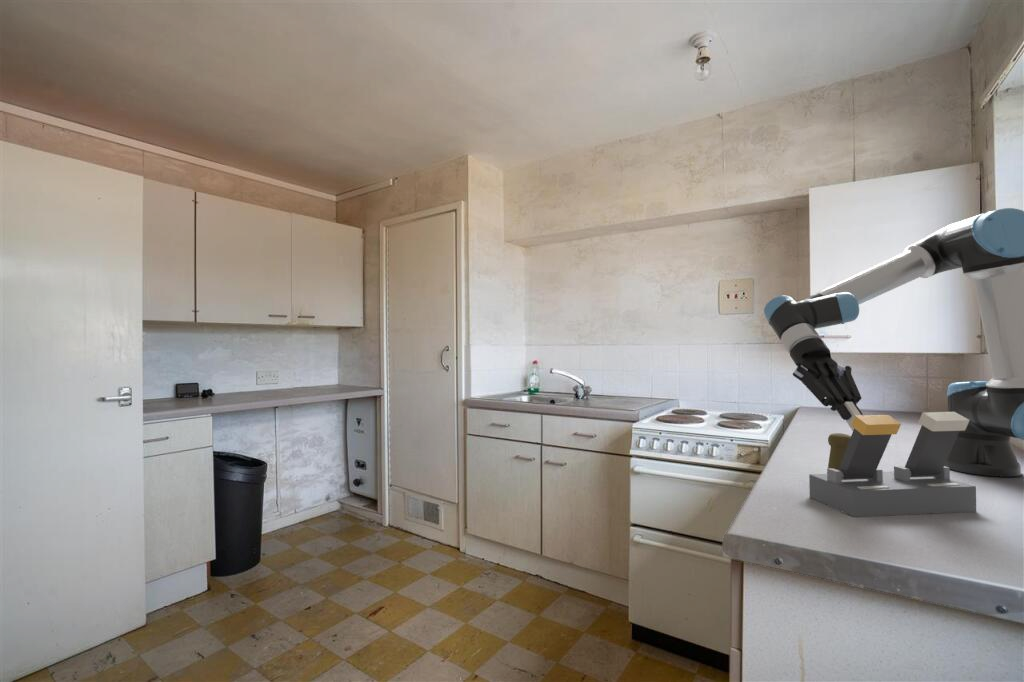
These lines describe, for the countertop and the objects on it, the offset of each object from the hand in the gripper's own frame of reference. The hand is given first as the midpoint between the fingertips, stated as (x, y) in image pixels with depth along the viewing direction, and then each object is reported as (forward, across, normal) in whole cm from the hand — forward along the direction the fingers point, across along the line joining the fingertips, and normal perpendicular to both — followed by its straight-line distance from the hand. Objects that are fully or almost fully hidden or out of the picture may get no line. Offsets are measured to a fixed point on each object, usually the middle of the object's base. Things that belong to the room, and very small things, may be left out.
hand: (862, 431), depth 96 cm
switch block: (+9, -8, -13) cm, 18 cm away
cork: (-4, -13, -27) cm, 30 cm away
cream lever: (+5, -15, -8) cm, 18 cm away
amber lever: (+5, 0, -8) cm, 10 cm away
